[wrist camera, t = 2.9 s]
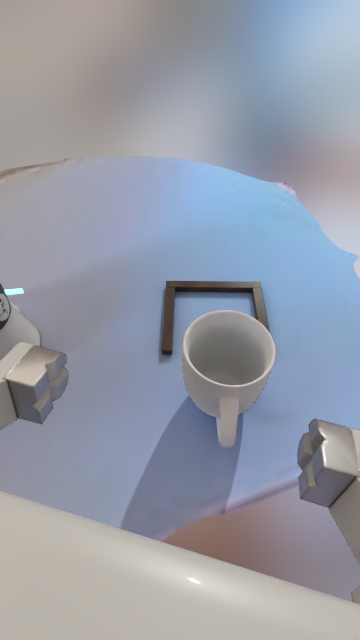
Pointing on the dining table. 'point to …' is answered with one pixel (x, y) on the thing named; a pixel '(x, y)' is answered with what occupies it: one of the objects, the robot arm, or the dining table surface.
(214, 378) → the mug
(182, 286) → the bay rails
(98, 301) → the dining table surface
